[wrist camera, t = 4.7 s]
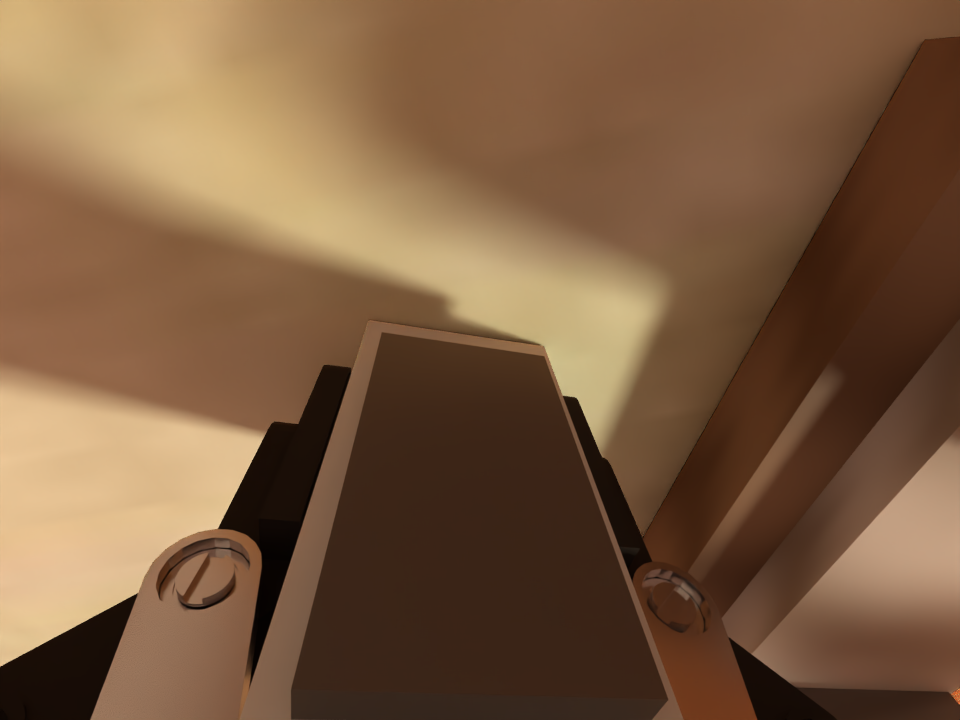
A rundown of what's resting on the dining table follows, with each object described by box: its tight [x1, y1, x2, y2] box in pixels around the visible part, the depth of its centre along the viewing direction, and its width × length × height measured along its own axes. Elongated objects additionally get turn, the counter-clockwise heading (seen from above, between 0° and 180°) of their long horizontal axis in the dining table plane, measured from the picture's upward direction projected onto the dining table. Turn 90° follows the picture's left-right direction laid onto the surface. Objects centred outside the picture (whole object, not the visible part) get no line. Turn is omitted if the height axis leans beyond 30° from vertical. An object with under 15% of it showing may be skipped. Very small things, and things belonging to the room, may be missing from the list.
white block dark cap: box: [240, 320, 683, 720], centre depth 8 cm, size 4×4×8 cm
